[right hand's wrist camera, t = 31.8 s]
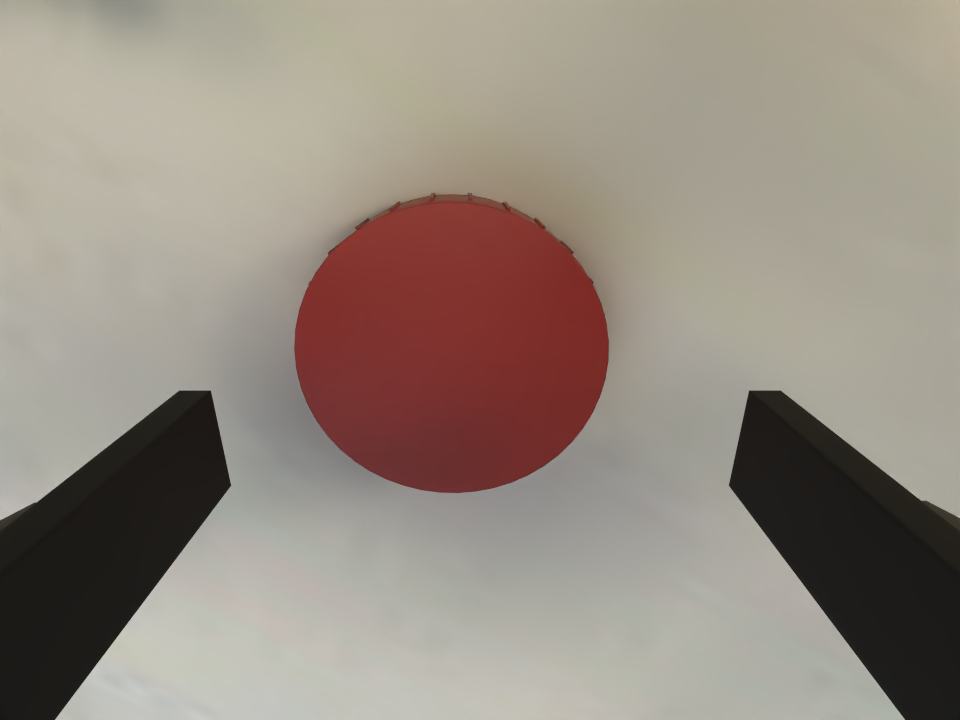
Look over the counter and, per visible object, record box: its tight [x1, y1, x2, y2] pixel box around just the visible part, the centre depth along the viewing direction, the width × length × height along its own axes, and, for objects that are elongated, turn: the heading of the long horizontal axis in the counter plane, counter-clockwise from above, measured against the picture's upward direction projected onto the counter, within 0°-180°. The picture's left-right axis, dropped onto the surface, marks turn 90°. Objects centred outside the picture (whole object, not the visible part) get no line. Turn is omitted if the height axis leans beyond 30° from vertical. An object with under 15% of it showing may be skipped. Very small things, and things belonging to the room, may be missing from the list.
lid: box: [294, 193, 609, 493], centre depth 17 cm, size 10×10×2 cm
